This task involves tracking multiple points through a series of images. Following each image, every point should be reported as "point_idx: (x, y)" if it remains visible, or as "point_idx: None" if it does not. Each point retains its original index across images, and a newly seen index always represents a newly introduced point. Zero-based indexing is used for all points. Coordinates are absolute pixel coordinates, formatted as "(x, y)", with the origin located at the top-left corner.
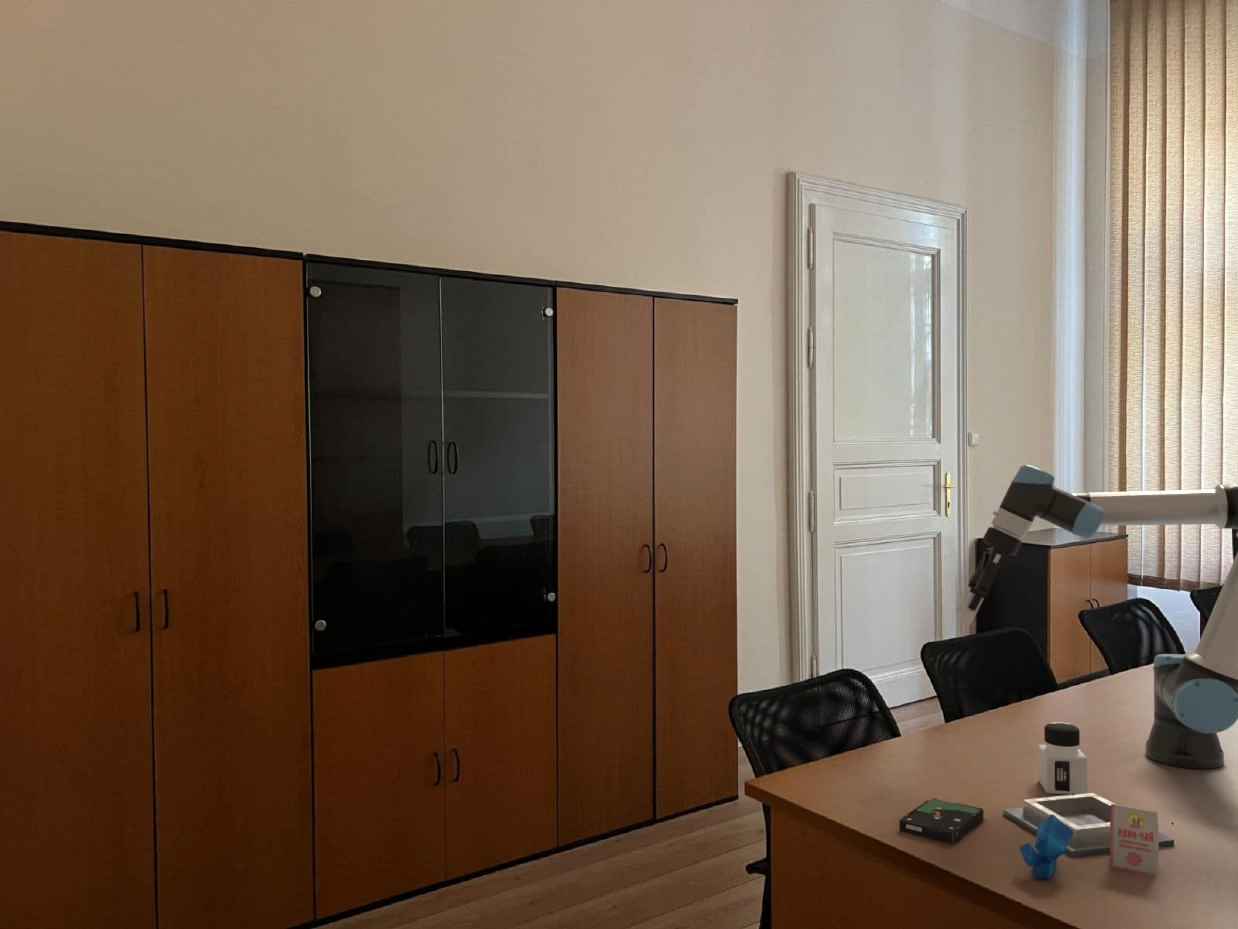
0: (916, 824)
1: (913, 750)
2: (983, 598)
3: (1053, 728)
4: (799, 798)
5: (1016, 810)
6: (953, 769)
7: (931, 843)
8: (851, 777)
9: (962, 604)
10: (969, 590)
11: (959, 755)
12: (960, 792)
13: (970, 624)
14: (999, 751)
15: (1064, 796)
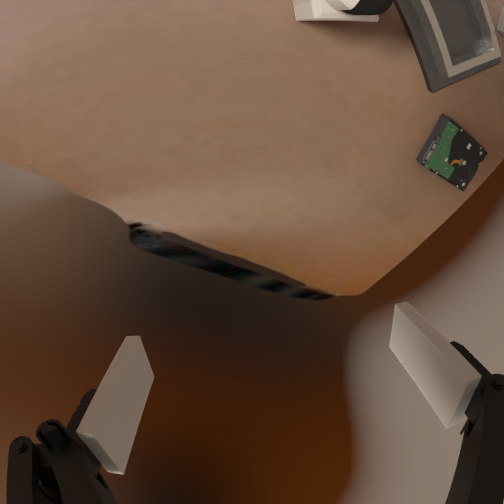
0: (471, 178)
1: (199, 196)
2: (471, 382)
3: (386, 5)
4: (391, 262)
5: (433, 78)
6: (274, 136)
7: None
8: (334, 239)
9: (138, 395)
10: (120, 454)
11: (197, 134)
12: (368, 127)
13: (409, 305)
14: (147, 81)
15: (433, 25)
